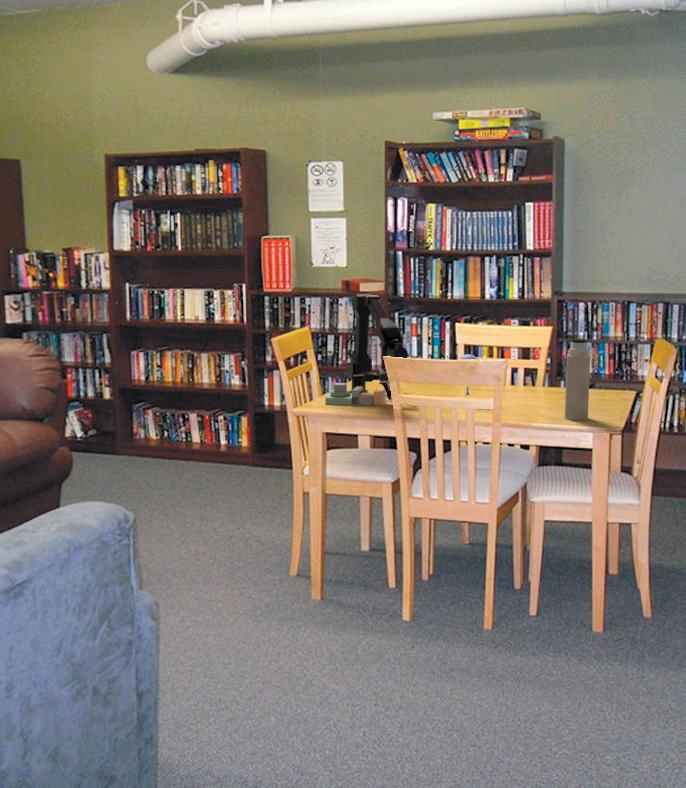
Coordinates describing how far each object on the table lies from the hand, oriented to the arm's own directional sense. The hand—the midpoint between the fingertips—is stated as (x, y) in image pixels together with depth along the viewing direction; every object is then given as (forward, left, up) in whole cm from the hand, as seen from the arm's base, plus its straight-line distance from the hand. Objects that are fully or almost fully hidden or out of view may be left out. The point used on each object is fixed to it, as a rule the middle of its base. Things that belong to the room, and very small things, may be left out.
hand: (389, 399), depth 405 cm
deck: (0, -15, -1) cm, 15 cm away
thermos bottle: (+14, +69, -2) cm, 71 cm away
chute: (0, -8, -2) cm, 8 cm away
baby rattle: (-12, +28, -2) cm, 31 cm away
